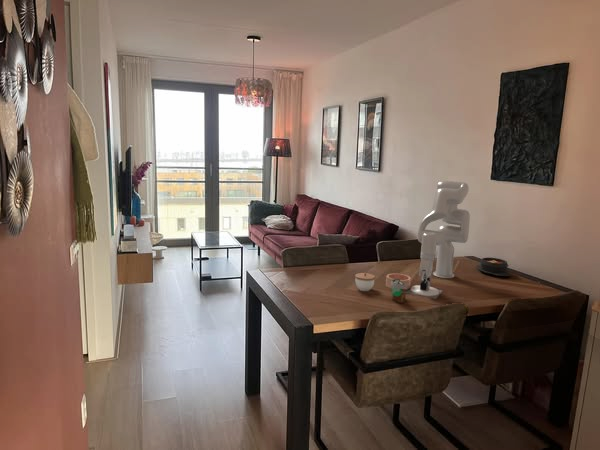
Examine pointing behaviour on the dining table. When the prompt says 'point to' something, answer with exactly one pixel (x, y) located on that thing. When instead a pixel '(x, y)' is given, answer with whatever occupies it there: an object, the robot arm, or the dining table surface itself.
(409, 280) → the bowl
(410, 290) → the mat
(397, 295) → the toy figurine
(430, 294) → the lid
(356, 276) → the lidded jar
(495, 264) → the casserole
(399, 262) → the dining table surface
